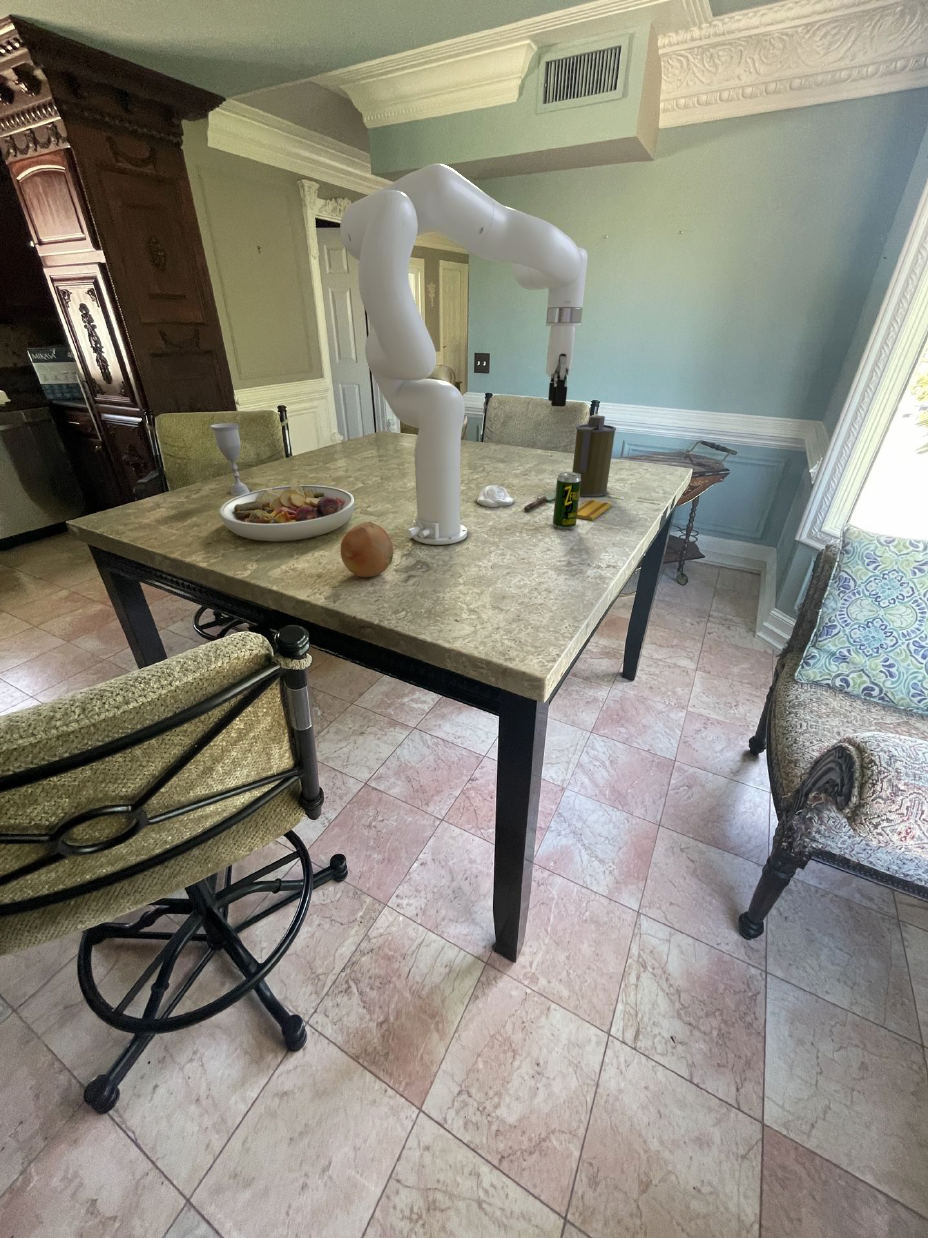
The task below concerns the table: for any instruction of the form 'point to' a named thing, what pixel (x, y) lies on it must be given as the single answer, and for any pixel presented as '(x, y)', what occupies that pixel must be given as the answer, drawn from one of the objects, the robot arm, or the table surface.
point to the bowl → (288, 512)
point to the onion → (366, 550)
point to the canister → (593, 456)
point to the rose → (494, 497)
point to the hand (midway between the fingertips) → (556, 403)
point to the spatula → (540, 500)
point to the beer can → (566, 500)
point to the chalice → (230, 450)
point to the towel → (592, 509)
